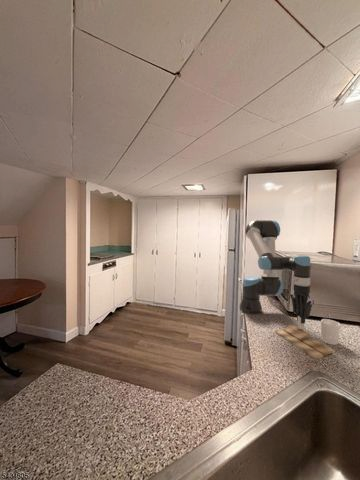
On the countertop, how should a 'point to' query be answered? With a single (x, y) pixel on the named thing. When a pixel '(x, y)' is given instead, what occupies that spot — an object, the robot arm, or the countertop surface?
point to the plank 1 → (296, 332)
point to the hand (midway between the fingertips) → (300, 328)
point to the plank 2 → (318, 346)
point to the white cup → (330, 331)
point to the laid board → (299, 344)
